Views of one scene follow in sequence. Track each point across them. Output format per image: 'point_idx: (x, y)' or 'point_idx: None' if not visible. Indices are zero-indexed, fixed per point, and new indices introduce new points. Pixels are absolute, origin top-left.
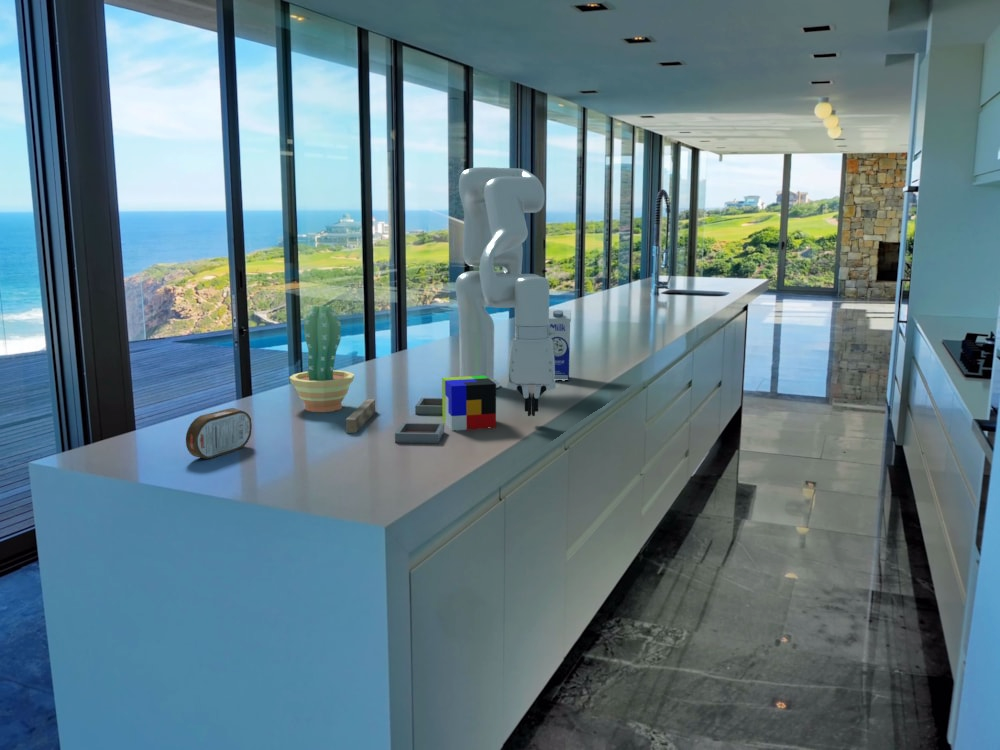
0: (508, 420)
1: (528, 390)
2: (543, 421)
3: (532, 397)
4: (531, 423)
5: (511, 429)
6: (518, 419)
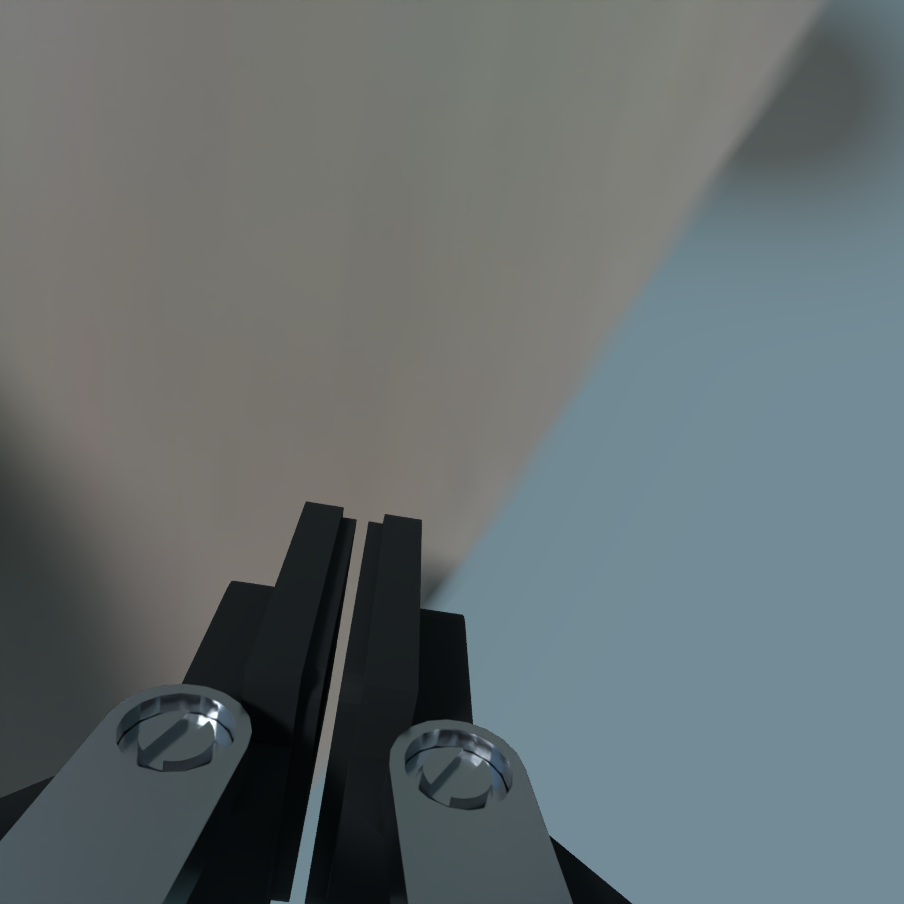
0: (45, 224)
1: (205, 857)
2: (562, 341)
3: (337, 781)
4: (376, 433)
5: (103, 679)
6: (203, 175)
